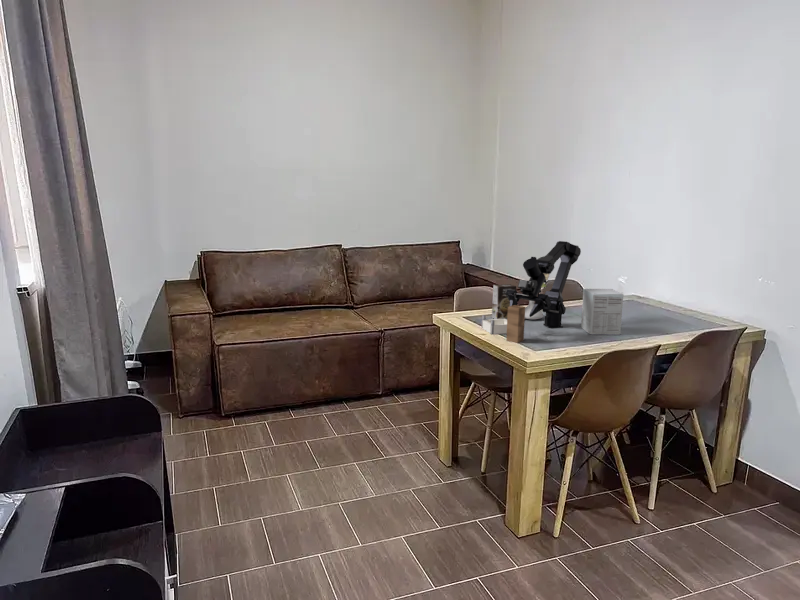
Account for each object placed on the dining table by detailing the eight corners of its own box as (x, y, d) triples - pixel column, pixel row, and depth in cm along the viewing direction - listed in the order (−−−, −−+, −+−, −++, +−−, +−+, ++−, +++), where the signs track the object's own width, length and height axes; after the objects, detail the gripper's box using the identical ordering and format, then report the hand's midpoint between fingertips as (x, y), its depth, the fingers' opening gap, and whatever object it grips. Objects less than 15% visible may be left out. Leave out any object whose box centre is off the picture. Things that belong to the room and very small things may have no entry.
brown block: (512, 338, 246) (514, 305, 243) (523, 340, 243) (525, 306, 240) (506, 340, 243) (507, 306, 240) (517, 343, 239) (518, 308, 237)
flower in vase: (516, 320, 279) (519, 266, 274) (520, 315, 289) (522, 263, 284) (545, 322, 275) (548, 268, 270) (548, 317, 285) (551, 264, 280)
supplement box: (621, 335, 253) (624, 294, 250) (589, 334, 253) (592, 294, 250) (609, 327, 266) (612, 288, 263) (580, 327, 266) (582, 288, 263)
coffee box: (497, 321, 276) (498, 286, 273) (491, 318, 282) (492, 284, 279) (515, 320, 279) (516, 285, 276) (509, 317, 285) (510, 283, 282)
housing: (504, 326, 266) (505, 314, 264) (515, 333, 255) (516, 319, 254) (481, 328, 263) (481, 315, 262) (491, 334, 252) (491, 320, 251)
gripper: (508, 269, 250) (493, 299, 244) (549, 274, 238) (534, 306, 232) (517, 286, 257) (502, 315, 251) (557, 291, 245) (543, 322, 239)
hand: (519, 314), depth 243 cm, fingers open, 9 cm apart
